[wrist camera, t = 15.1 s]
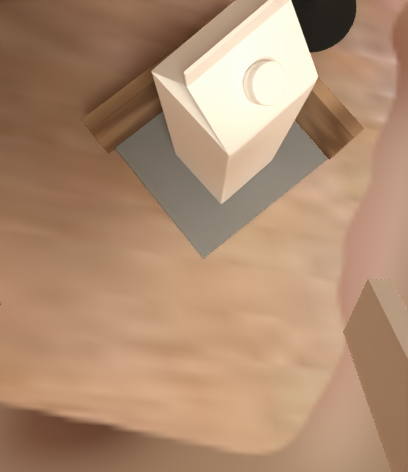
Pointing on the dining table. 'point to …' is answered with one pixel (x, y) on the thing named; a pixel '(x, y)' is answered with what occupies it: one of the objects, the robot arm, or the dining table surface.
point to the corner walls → (149, 106)
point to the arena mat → (196, 194)
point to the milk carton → (235, 92)
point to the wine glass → (324, 21)
